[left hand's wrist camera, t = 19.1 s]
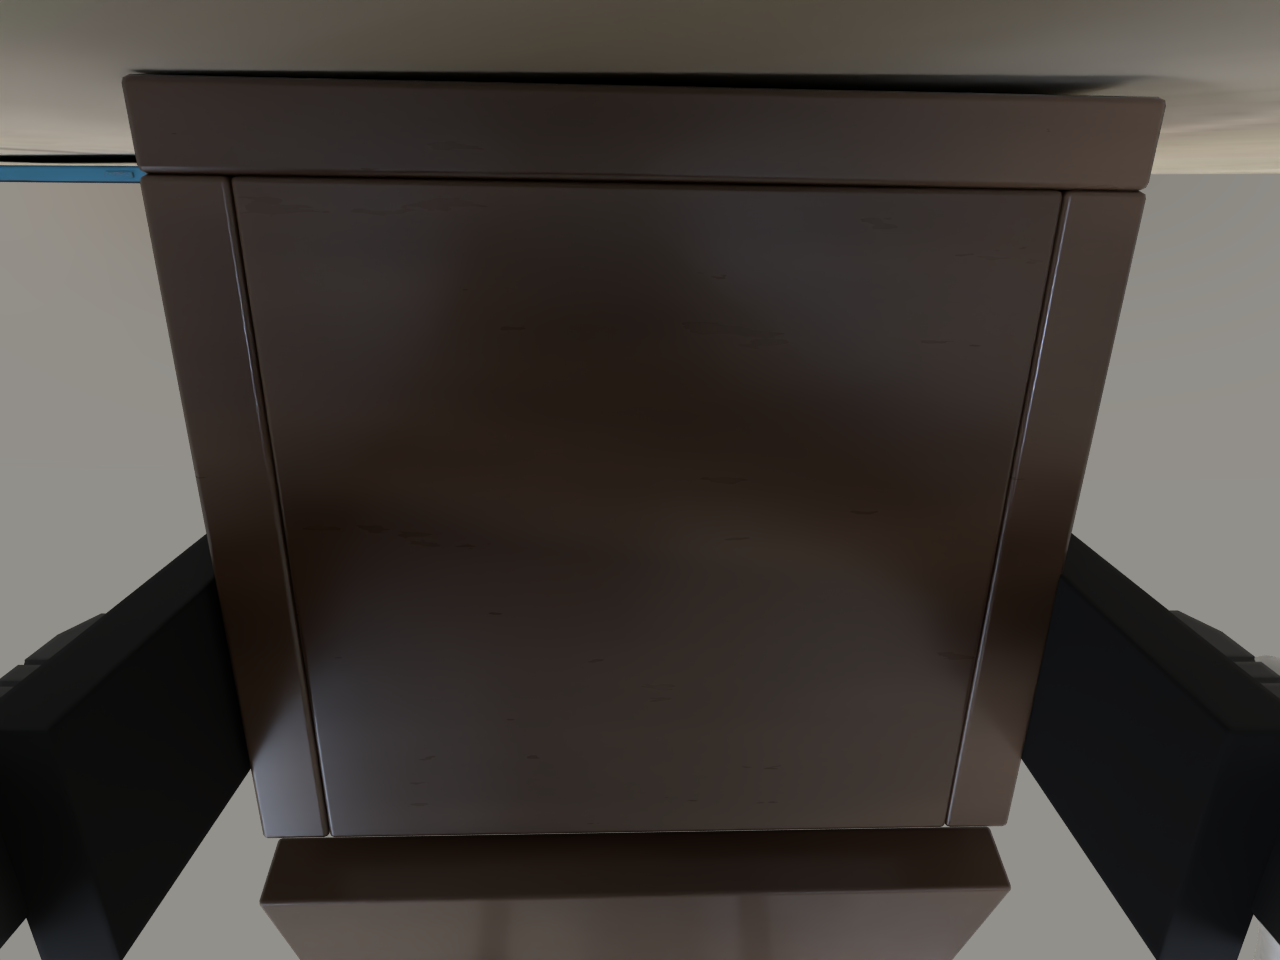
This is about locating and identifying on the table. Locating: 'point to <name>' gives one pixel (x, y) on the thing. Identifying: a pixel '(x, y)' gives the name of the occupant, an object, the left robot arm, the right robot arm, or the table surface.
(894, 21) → the table surface
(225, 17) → the table surface
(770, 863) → the lid
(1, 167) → the smartphone
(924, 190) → the chest
